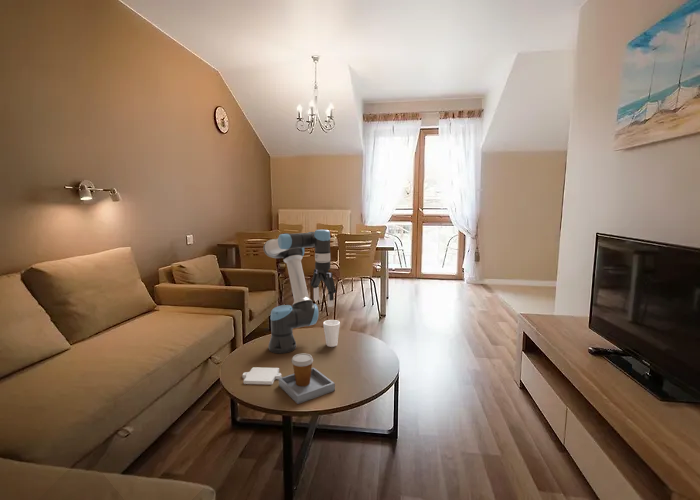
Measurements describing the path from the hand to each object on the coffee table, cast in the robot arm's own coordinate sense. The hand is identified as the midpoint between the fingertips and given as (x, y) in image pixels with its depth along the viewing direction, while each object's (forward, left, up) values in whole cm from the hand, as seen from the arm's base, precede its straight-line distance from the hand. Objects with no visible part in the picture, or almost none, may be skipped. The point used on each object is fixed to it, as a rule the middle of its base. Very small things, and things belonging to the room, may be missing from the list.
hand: (323, 303), depth 181 cm
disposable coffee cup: (+14, -20, -30) cm, 39 cm away
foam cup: (-16, +15, -31) cm, 38 cm away
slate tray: (+18, -20, -31) cm, 41 cm away
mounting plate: (-3, -32, -31) cm, 45 cm away
